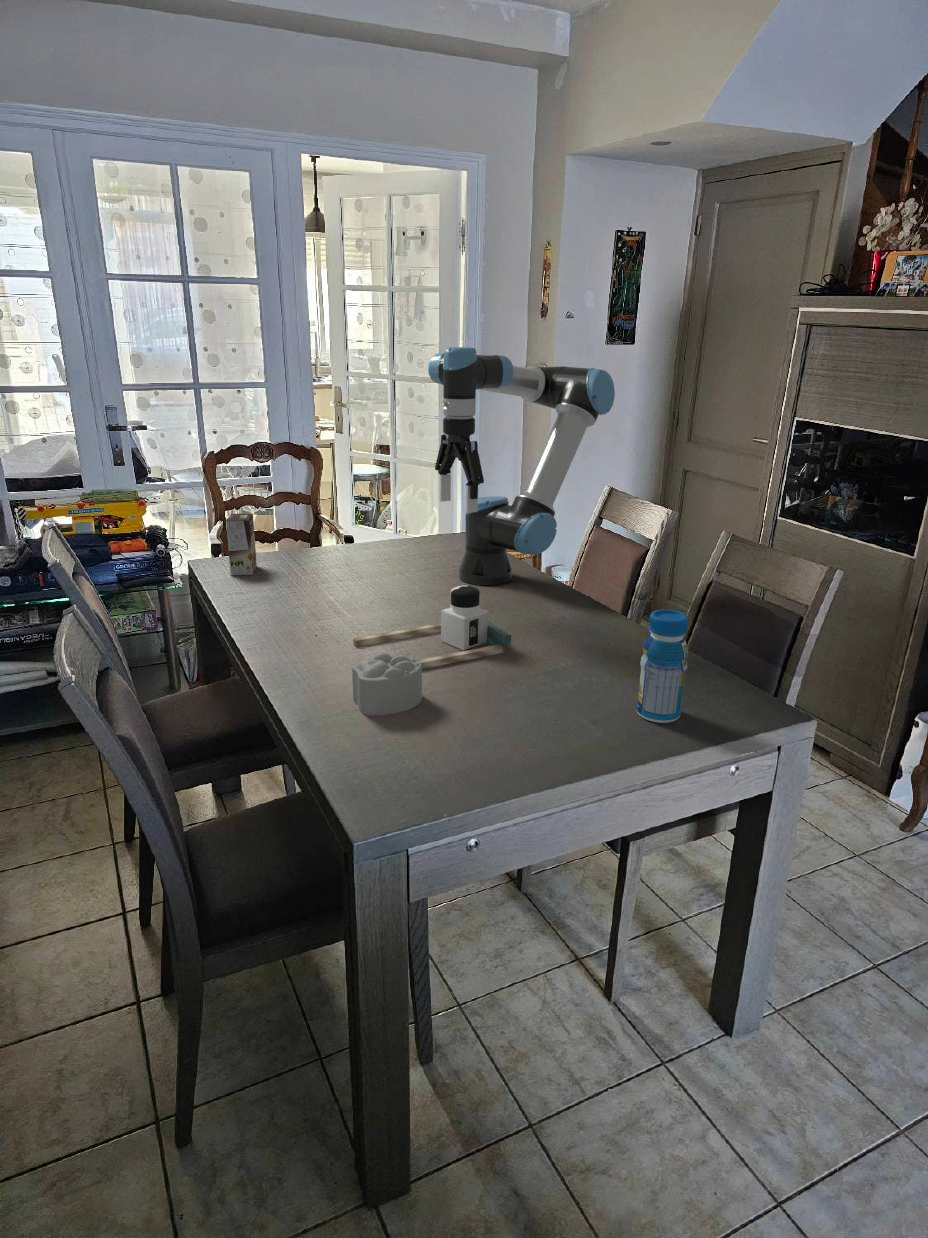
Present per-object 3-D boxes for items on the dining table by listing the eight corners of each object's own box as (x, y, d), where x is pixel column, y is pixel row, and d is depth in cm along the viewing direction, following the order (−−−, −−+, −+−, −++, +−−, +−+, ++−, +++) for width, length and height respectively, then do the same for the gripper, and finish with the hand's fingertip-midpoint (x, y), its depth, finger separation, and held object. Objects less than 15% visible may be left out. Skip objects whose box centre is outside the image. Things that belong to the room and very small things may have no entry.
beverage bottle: (653, 728, 146) (664, 626, 138) (626, 708, 153) (636, 610, 146) (690, 720, 149) (703, 619, 142) (662, 701, 156) (673, 604, 149)
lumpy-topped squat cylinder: (349, 695, 156) (348, 654, 153) (412, 685, 161) (412, 645, 158) (364, 718, 147) (362, 676, 144) (430, 707, 152) (430, 665, 149)
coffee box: (253, 575, 227) (248, 520, 222) (230, 575, 226) (225, 520, 221) (257, 566, 236) (253, 512, 230) (235, 566, 235) (230, 512, 229)
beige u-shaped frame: (469, 623, 194) (469, 608, 192) (510, 651, 178) (511, 634, 177) (353, 644, 180) (352, 628, 179) (386, 676, 165) (386, 658, 163)
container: (487, 642, 183) (489, 588, 178) (463, 651, 178) (464, 596, 173) (464, 633, 188) (465, 580, 183) (440, 641, 183) (440, 587, 178)
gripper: (421, 411, 195) (421, 497, 202) (471, 423, 174) (469, 518, 182) (448, 410, 198) (447, 495, 206) (500, 422, 178) (497, 515, 185)
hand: (458, 506), depth 194 cm, fingers open, 13 cm apart
